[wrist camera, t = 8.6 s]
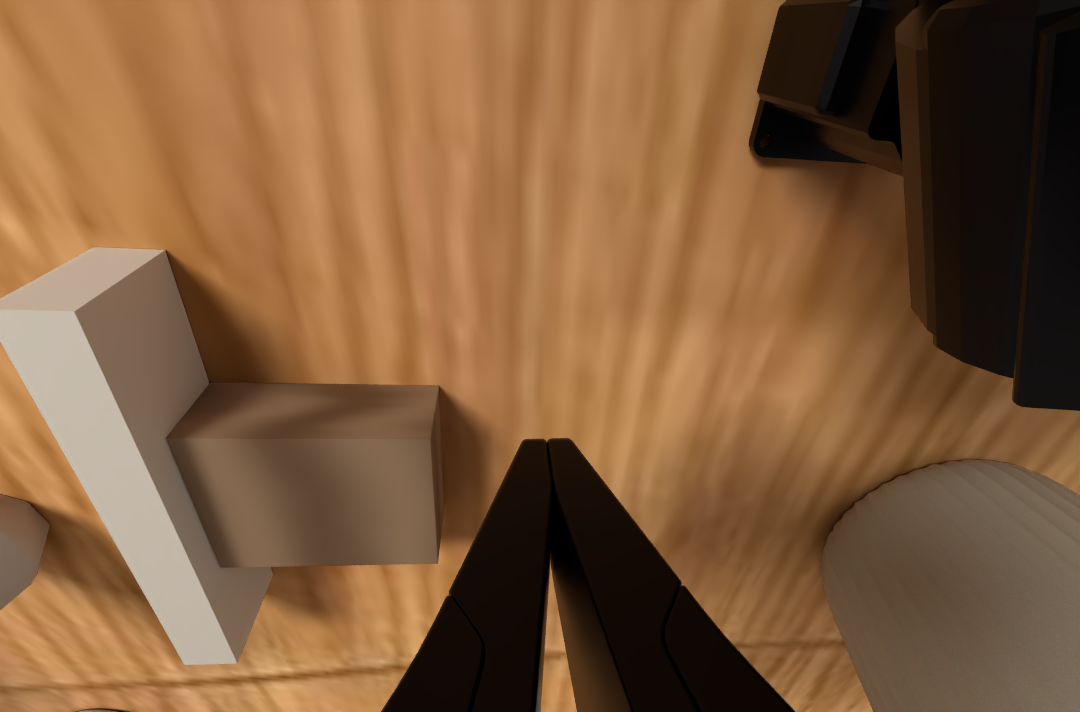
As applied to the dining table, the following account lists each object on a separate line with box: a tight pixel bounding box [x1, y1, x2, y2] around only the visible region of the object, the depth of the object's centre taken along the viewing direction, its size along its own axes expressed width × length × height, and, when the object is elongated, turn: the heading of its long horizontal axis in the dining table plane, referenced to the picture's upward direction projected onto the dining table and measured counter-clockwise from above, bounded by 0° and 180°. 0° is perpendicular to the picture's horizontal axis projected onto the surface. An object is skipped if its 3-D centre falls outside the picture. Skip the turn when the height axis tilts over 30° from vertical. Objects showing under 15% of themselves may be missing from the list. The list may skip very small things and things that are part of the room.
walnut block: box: [166, 382, 444, 568], centre depth 24 cm, size 10×8×4 cm
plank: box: [0, 247, 273, 665], centre depth 23 cm, size 2×20×5 cm, turn 176°
